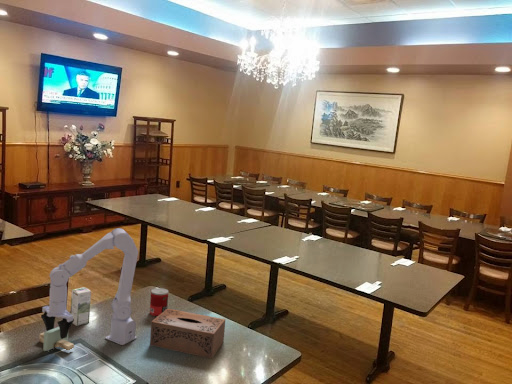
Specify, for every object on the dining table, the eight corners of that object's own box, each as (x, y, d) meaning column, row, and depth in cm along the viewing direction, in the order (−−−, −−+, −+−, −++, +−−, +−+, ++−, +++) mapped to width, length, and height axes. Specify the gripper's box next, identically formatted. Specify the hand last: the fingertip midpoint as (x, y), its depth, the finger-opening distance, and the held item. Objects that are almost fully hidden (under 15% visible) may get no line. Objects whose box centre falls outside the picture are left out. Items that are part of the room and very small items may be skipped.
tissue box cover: (149, 345, 165) (151, 321, 164) (165, 330, 179) (167, 308, 178) (211, 359, 160) (214, 333, 158) (223, 342, 174) (225, 319, 172)
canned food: (164, 317, 191) (166, 294, 190) (147, 316, 191) (149, 292, 190) (168, 311, 199) (170, 288, 198) (151, 309, 199) (153, 287, 198)
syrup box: (82, 318, 183) (84, 286, 181) (89, 323, 179) (91, 290, 178) (69, 322, 179) (71, 289, 177) (76, 326, 175) (78, 293, 173)
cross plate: (64, 341, 162) (65, 324, 161) (68, 342, 161) (68, 325, 160) (43, 350, 154) (43, 332, 153) (46, 352, 153) (47, 333, 152)
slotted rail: (73, 351, 155) (73, 344, 155) (67, 354, 153) (68, 346, 153) (45, 339, 162) (45, 331, 162) (39, 341, 160) (39, 333, 160)
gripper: (35, 298, 155) (34, 333, 157) (61, 308, 149) (60, 344, 150) (52, 292, 162) (51, 326, 163) (78, 302, 155) (77, 337, 157)
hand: (56, 334), depth 157 cm, fingers open, 7 cm apart
